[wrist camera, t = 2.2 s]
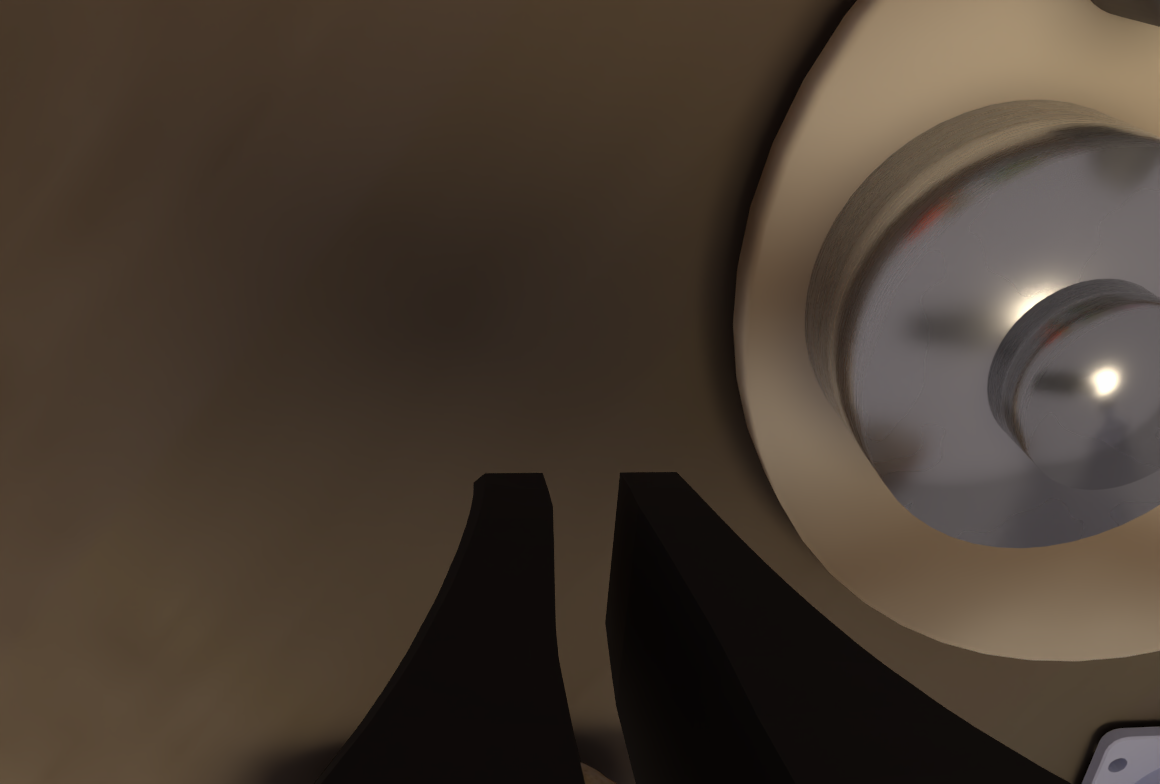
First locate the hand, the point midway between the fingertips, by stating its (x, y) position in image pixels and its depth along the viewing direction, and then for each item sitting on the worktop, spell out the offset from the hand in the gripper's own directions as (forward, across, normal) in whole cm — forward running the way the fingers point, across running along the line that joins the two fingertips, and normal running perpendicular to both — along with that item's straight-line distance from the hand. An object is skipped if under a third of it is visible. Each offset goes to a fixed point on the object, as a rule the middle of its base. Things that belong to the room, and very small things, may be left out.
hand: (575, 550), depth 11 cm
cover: (+8, -8, 0) cm, 11 cm away
